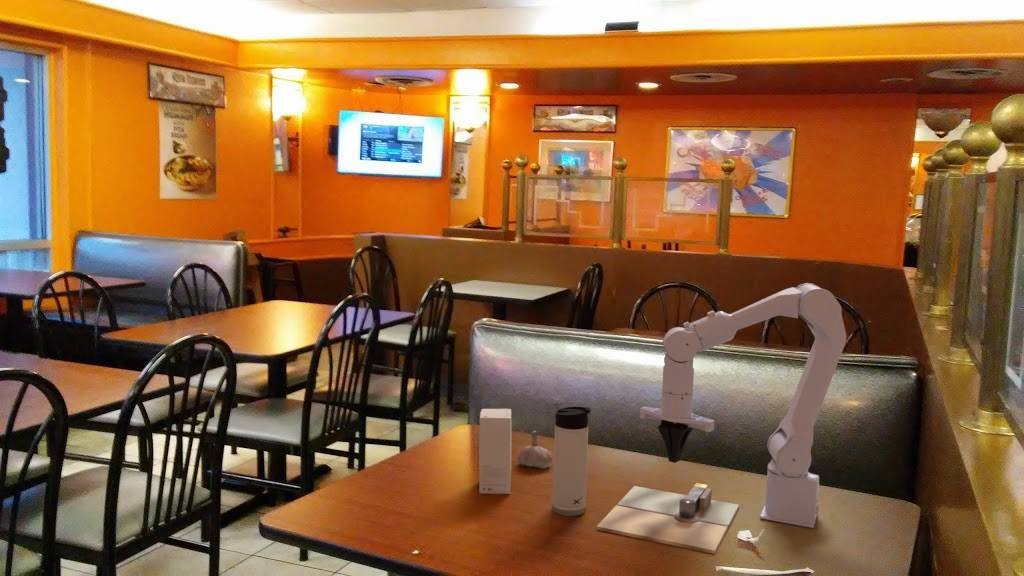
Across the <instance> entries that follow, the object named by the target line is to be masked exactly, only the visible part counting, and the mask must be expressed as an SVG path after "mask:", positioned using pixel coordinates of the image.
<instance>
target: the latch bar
mask: <svg viewBox="0 0 1024 576" xmlns="http://www.w3.org/2000/svg"><path fill="white" fill-rule="evenodd" d="M706 488H709V484H705V483H704V484H703V483H698V482H696V483H695V484H694V485H693V487H692V488H691V489H690V491H689V492H688V493H687V494H686V495H687V496H686V497H685V499H681V500H680V505H679V515H680V516H681V517H684V518H693V517H694V516H695V512H696V511H697V509H698V508H699V502H700V497H701V495H702V494H703V492H704V491H705V489H706Z"/></svg>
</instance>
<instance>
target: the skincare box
mask: <svg viewBox="0 0 1024 576" xmlns="http://www.w3.org/2000/svg"><path fill="white" fill-rule="evenodd" d="M512 427H513V425H512V409H511V408H481V410H480V412H479V429H478V430H479V432H478V433H479V434H478V435H479V439H478V440H479V442H478V443H479V444H478V445H479V448H478V450H479V451H478V453H479V454H478V455H479V456H478V457H479V458H478V462H479V463H478V464H479V465H478V467H479V469H478V470H479V472H478V473H479V474H478V475H479V482H478V483H479V484H478V485H479V492H478V493H479V494H485V495H510V494H511V485H512V482H511V481H512V436H513V435H512Z"/></svg>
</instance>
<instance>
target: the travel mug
mask: <svg viewBox="0 0 1024 576" xmlns="http://www.w3.org/2000/svg"><path fill="white" fill-rule="evenodd" d="M591 413H592V412H591V407H585V406H568V407H562V408H559V409H558V410H557V411H556V412H555V416H554V417H555V423H554V442H553V446H554V448H553V449H554V450H553V479H552V511H553V512H554V513H555V514H556V515H557V514H558V515H560V516H565V517H577V516H581V515H583V514H584V513H585V512H586V505H587V504H586V502H587V501H586V498H587V476H588V475H587V472H588V468H587V467H588V446H589V445H588V442H589V414H591Z"/></svg>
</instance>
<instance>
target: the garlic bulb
mask: <svg viewBox="0 0 1024 576" xmlns="http://www.w3.org/2000/svg"><path fill="white" fill-rule="evenodd" d="M531 442H532V443H531V445H526V446H525V447H523V448H522V449H521V450H520V452H519V454H518V455H517V461H518V463H519V464H520V465H521V466H526V467H529V468H532V467H533V468H538V469H546V468H547V467H550V466H551V465H552V464H553V462H554V456H553V455H552V453H551V452H550V451H549V449H547V448H544V447H542V446H539V445H538V438H537V431H536V430H533V431H532V433H531Z"/></svg>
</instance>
